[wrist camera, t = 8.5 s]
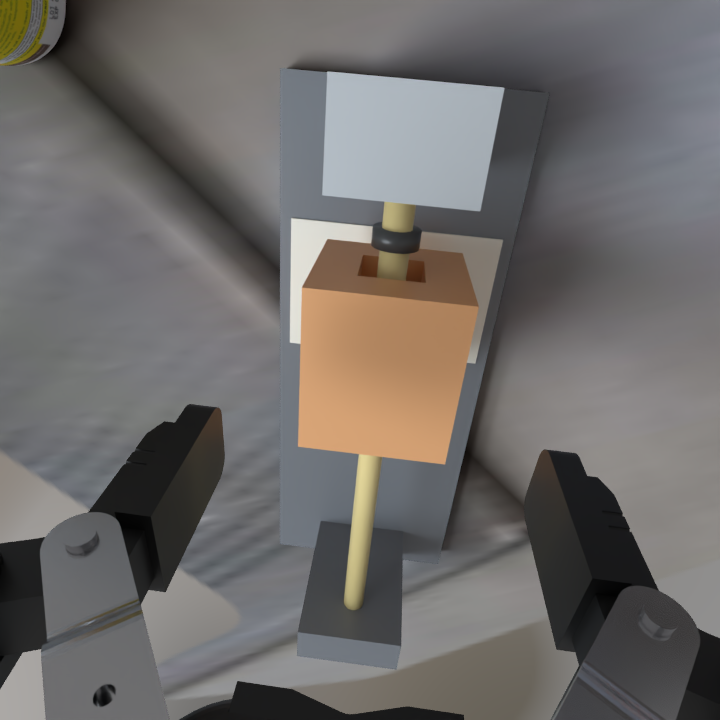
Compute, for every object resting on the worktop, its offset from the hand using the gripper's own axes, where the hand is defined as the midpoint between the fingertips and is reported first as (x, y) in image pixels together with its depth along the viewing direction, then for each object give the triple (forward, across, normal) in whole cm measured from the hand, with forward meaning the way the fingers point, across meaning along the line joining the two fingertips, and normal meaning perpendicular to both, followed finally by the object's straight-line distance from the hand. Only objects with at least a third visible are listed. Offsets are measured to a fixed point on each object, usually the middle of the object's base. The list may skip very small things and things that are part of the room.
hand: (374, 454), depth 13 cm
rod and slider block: (+12, 0, +5) cm, 13 cm away
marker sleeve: (+9, 0, 0) cm, 9 cm away
